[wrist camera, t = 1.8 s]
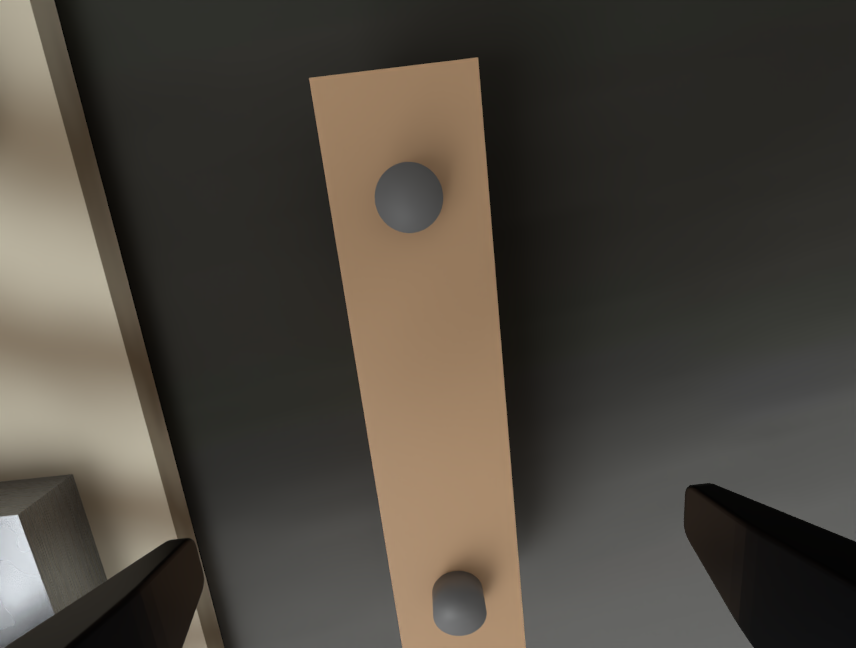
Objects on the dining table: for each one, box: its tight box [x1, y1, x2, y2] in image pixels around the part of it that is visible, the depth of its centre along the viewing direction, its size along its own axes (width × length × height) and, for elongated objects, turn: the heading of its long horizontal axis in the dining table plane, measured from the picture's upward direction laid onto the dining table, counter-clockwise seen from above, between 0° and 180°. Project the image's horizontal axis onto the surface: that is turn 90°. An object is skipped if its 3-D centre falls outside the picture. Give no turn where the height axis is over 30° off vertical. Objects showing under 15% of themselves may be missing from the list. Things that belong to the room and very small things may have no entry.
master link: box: [309, 57, 526, 648], centre depth 14 cm, size 18×4×5 cm, turn 7°
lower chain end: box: [0, 474, 107, 648], centre depth 16 cm, size 10×6×2 cm, turn 6°
